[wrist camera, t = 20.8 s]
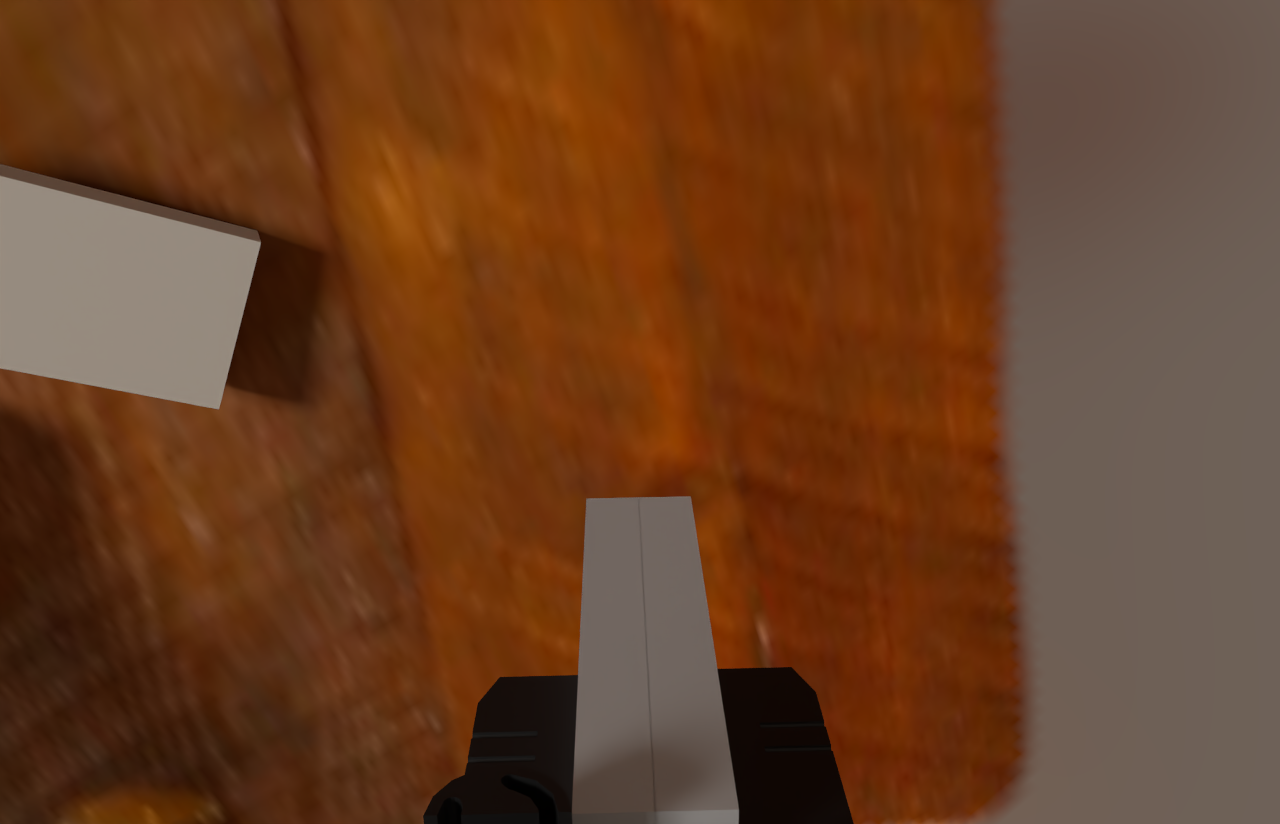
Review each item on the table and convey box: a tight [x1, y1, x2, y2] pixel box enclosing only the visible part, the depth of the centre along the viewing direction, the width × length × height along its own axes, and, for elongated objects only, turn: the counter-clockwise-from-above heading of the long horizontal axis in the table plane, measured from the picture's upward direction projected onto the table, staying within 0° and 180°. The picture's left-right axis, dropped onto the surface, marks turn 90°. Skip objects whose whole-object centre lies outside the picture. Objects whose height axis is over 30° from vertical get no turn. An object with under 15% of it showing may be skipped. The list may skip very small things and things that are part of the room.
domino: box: [0, 164, 261, 409], centre depth 36 cm, size 2×6×12 cm
